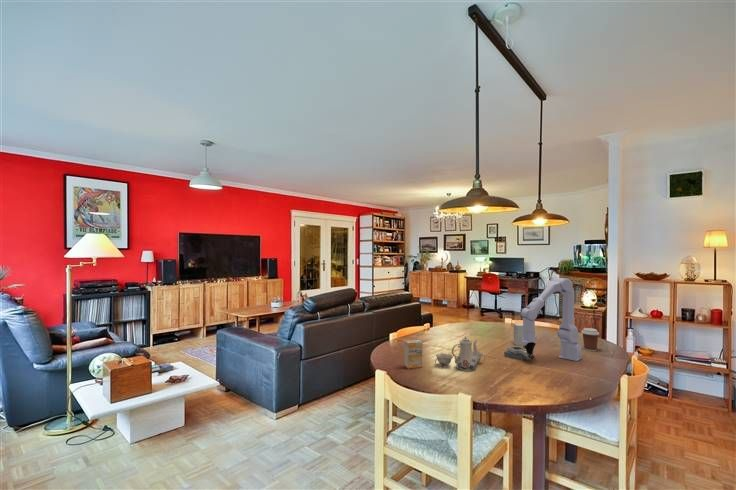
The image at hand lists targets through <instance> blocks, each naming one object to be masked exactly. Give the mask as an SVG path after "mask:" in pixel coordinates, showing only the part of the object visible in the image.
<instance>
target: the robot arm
mask: <svg viewBox="0 0 736 490" xmlns="http://www.w3.org/2000/svg"><path fill="white" fill-rule="evenodd" d="M547 283H548V285H547V286H546V287H545V288H544V290H543V291H542V292H541V293H540V295H539V296H538V297H534V298H532V301H531V302H530V303H529V304H528V305H527V306H526V307H524V308H522V310H521V312H520V313H519V314H520V317H521V318H522V323H523V338H521V339H522V340H523V341H522V345H524V346H525V348H526V352H528V353H530V354H532V355H534V354H533V352H534V348H535V347H536V344H537V343H536V341H537V340H538V339H537V336H536V328H535V327H536V321H535V320H536V319H537V317H538V314H539V311H540V310H541V309H542V308H543V307H544V306H545V304H546V303H545V301H546V300H547V299H548V298H549V297H551V296H552V294H554V293H556V292H560V294H562V321H561V322H562V323H560V324H559V325H558V330H557V336H558V338H559V340H560V355H559V356H558V358H559V359H565V360H570V361H575V362H578V361H579V360H581V359H582V344H581V343H580V342H578V341H579V339H580V335H579V334H580V333H579V329H578V328H577V326H576V325H575V289H574V287H573V286H574V285H573V281H571V279H569V278H568V277H567V278H564V277H557V276H554V277H552V278H551V279H550V280H549V281H548V282H547Z"/></svg>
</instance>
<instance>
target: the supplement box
mask: <svg viewBox="0 0 736 490" xmlns="http://www.w3.org/2000/svg"><path fill="white" fill-rule="evenodd" d="M404 367H405V368H407V369H408V370H409V369H417V368H423V341H421V340H420V339H417V340H416V339H414V340H404Z"/></svg>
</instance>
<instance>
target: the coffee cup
mask: <svg viewBox="0 0 736 490" xmlns="http://www.w3.org/2000/svg"><path fill="white" fill-rule="evenodd" d="M580 333H581V334H582V340H583V341H582V342H583V349H584V350H585V351H588V352H597V351H598V340H599V339H598V338H599V335H600V332H598V330H597V329H596V328H593V327H592V328H591V327H584V328H583V330H581V332H580Z"/></svg>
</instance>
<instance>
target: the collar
mask: <svg viewBox="0 0 736 490" xmlns="http://www.w3.org/2000/svg"><path fill="white" fill-rule="evenodd" d="M506 348H507V349H506V351H510V352H512V353H514V354H522V355H524V356H526V357H528V358H529V359H531V360H534V359H535V355H534V354H533V355H532V354H530V353H528V352H526V349H524V348H522V346H517V345H516V346H515V345H514V346H506Z"/></svg>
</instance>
